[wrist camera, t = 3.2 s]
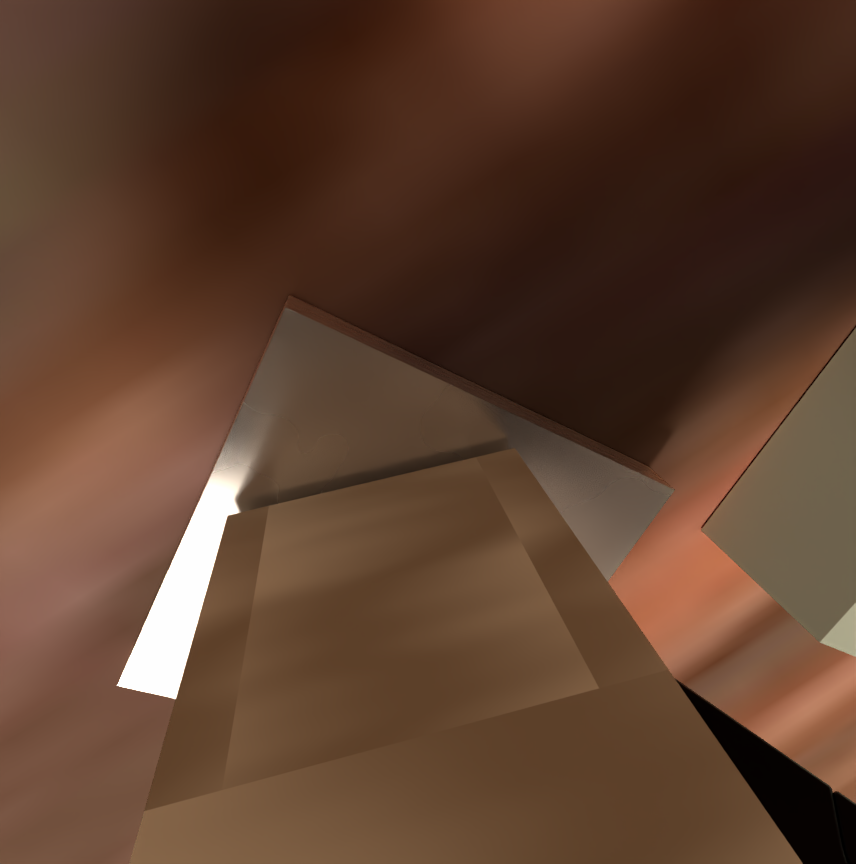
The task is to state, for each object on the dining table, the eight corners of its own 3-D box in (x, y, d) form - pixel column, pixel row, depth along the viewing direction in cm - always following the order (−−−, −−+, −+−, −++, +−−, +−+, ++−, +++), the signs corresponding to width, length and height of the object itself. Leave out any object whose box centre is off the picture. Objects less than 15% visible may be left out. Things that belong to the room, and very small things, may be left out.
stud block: (648, 466, 12) (858, 654, 7) (463, 728, 15) (533, 1001, 10) (289, 295, 10) (255, 414, 5) (132, 647, 12) (5, 962, 7)
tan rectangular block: (514, 448, 10) (992, 1135, 3) (540, 656, 12) (850, 1349, 5) (227, 515, 10) (-48, 1497, 3) (305, 718, 12) (277, 1563, 5)
